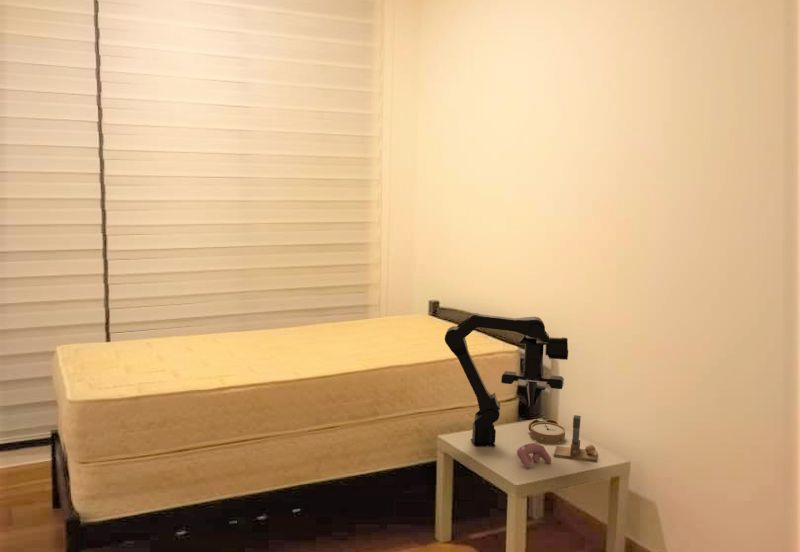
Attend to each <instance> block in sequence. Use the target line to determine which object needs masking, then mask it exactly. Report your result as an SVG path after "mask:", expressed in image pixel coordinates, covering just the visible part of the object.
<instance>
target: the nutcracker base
mask: <svg viewBox="0 0 800 552" xmlns="http://www.w3.org/2000/svg"><path fill="white" fill-rule="evenodd" d="M572 440H573V438H572V439H571V441H572ZM580 447H581V439H579V445H577V444H572V443H571V444H570V447H568V446H562V445H561V446H559V445H556V446H555V449H554V453H553V457H554V458H559V459H570V460H578V461H583V462H585V461H586V462H594V463H596V462H597V459H598V458H597V457H598V450H596V447H595V446H594V445H593V444H587V445H586V446H585V447H584V448H585V449H584V448H580Z"/></svg>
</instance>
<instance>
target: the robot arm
mask: <svg viewBox="0 0 800 552" xmlns="http://www.w3.org/2000/svg"><path fill="white" fill-rule="evenodd" d="M477 328H483V329H489V330H490V329H491V330H499V331H510V332H515V333H518V334H521V335H522V337H521V338H520V339H518V342H519V344H521V345H522V344H523V345H524V355H523V356H524V358H523V360H522V361H521V366H520V367H521V368H520V370H521V371H523V375H518V374H517V372H516V371H510V370H509V371H508V370H505V371H504V372H503V374H502V375H501V379H500V380H501V382H500V383H502V384H505V385H506V384H507V385H511V384H513V383H514V382H517V383H518V384H517V388H519V389H520V390H521V392H522V394H523V396H524V400H525V402H526V405H527V407H528V408H529V407H530V404H531V403H530V402H531V401H530V398H531V397H530V384H536V386H535V388H534V389H535V390H534V395H533V401H532V402H533V403H532V407H533V408H535V407H536V404H537V401H538V399H539V396H540V394H541V393H542V391H545V390H546V389H547V386H549V387H550V388H551V389H555V390H562V389H563V387H564V380H565V379H564V377H563V376H560V375H550V378H549V377H544V366H543V365H544V354H545V356H547V357H548V360H561V361H562V360H563V361H565V360H566V361H567V360H568V359H569V349H568V348H569V345H568V344H569V343H568V338H567V337H550V335H549V333H547V331H546V330H545V329H546V327H545V323H544V321H543V319H541V318H540V317H539V316H525V317H516V318H515V317H505V316H498V315H497V316H496V315H489V314H488V315H487V314H480V313H477V312H474V313H472V314H471V315H470V316H469V317H467V318H466V319H464V320H463V321H461V322H460V323H458V325H455V326H454V325H453V326H450V327H449V328H448V329H447V330H446V332H445V336H444V342H445V344H446V345H447V347H448V348H449V349H450V351H451V352H452V353H453V354H454V356H456V358H457V360H458V362H459V363H460V366H461V368H462V370H463V372H464V374H465V376H466V378H467V380H468V382H469V384H470V387H471V389H472V390H473V393H474V395H475V397H476V400H477V405H478V409H479V410H478V411H477V412H476V413H475V414H474V419H473V420H474V421H473V422H472V438H470V441H471V443H472V444H473V446H474V447H495V446H496V444H495V443H496V435H497V430H496V428H495V425H494V423H496V422H497V421H498V420H499V419H500V413H501V412H500V410H501V403H500V401H498V398H497V395H496V393H495V392H493V393H492V394H491V392H489V391H488V389H487V387H486V385H485V383H484V381H483V379H482V376H481V375H480V372H479V370H478V369H477V367H476V364H475V362H474V360H473V358H472V356H471V354H470V351H469V349H468V343H467V340H466V338H467V337H468V336H469V334H471V333H472V332H473V331H474V330H476V329H477ZM544 346H545V349H544Z"/></svg>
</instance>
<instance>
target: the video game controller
mask: <svg viewBox="0 0 800 552" xmlns="http://www.w3.org/2000/svg"><path fill="white" fill-rule="evenodd" d="M516 455H517V457H518V459H519V460H520V462H521V464H522V466H523V467H524V468H525V469H527V470H530V469H531V465H532V463H539V462H541V458H542V460H543V461H544V462H545V463H546V464H548V465H550V464H552V458H551V456H550V454H549V453H548V451H547V450H546V448H545V447H544V446H543V445H542V444H541V443H533V442H531V443H526V444H524V445H522V446H520V447H519V448H517V451H516ZM531 455H532V456H531Z"/></svg>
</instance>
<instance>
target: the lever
mask: <svg viewBox="0 0 800 552" xmlns="http://www.w3.org/2000/svg"><path fill="white" fill-rule="evenodd" d="M581 417H582V416H581V415H576V414H575V415H573V420H572V429H573V430H572V439H573V440H572V439H571V444H577V445H579V440H580V433H581V432H580V428H581V420H582V419H581Z"/></svg>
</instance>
